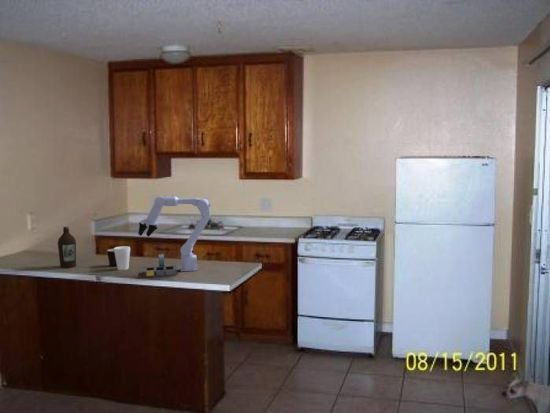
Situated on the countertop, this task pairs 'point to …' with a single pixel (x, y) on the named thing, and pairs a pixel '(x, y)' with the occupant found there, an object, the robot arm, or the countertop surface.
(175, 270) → the rack
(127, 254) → the foam cup
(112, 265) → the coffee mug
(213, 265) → the countertop surface
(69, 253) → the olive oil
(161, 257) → the panel
